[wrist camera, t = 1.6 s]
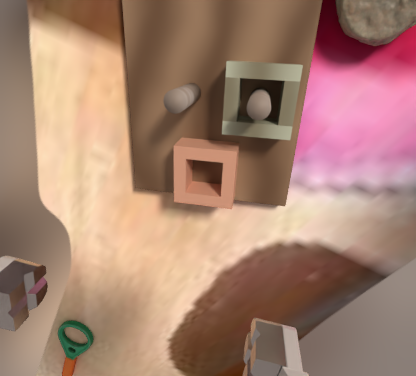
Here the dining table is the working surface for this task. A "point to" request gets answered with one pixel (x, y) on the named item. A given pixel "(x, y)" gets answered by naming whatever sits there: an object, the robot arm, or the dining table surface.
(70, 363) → the magnifying glass
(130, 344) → the dining table surface
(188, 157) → the chunky salmon square frame
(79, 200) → the dining table surface
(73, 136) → the dining table surface
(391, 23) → the long grey stone
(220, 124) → the wooden peg board
